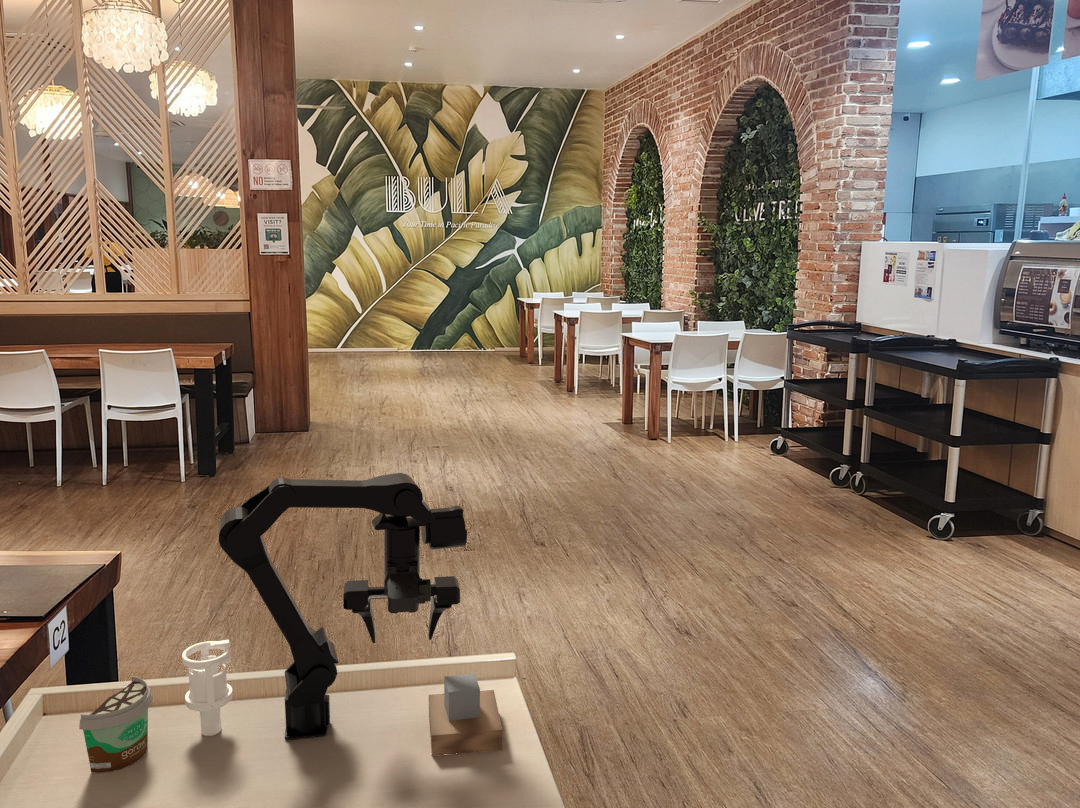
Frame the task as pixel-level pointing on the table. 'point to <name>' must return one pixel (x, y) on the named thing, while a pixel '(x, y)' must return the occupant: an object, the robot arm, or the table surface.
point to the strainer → (208, 684)
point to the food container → (118, 728)
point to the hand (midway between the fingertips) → (402, 640)
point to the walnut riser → (465, 728)
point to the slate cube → (461, 697)
